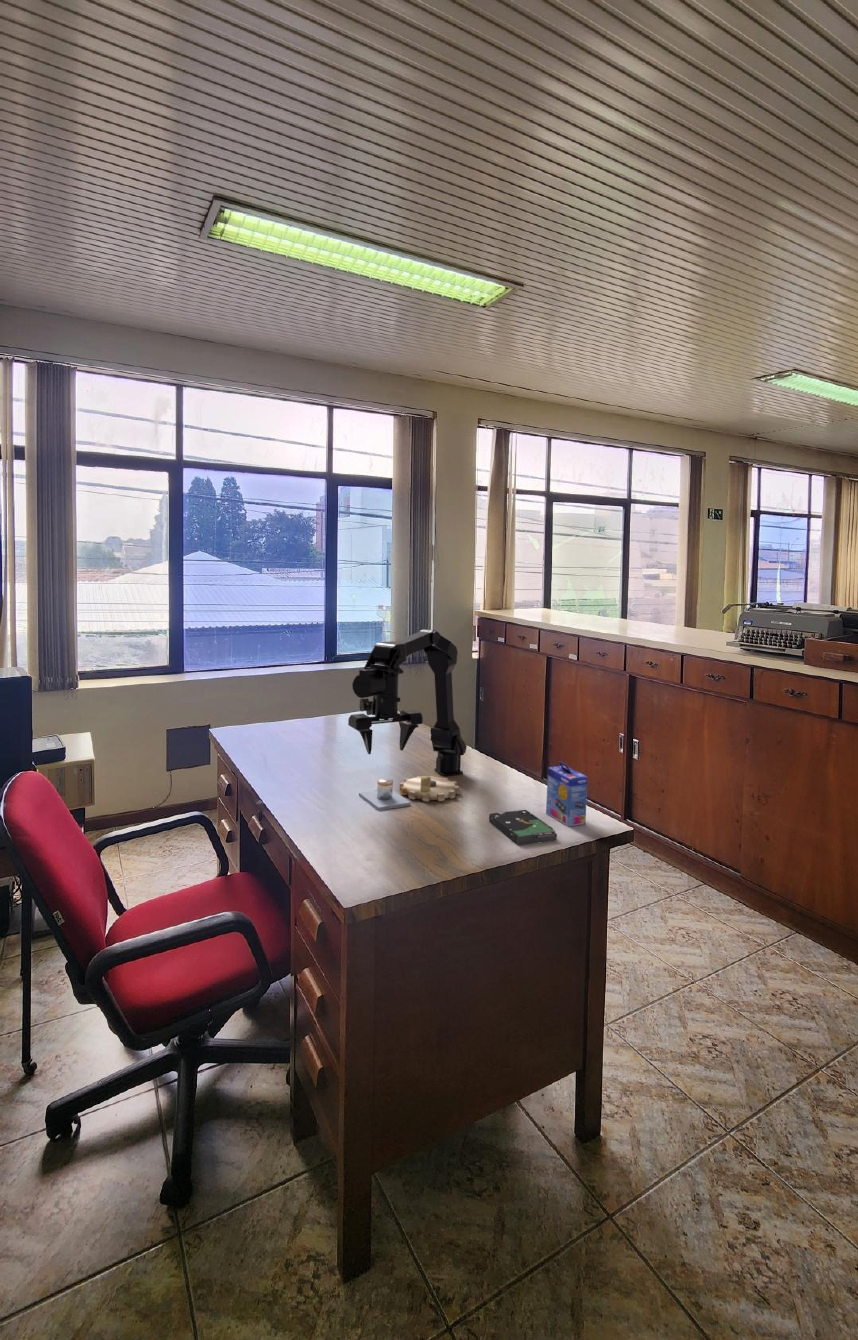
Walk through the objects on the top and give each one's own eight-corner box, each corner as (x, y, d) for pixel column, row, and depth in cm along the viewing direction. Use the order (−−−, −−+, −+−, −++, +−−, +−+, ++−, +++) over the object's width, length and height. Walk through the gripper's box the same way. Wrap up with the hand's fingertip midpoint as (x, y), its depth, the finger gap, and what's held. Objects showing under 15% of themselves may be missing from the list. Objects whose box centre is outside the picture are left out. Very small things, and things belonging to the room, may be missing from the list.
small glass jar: (388, 794, 177) (389, 777, 177) (395, 799, 174) (395, 782, 173) (374, 795, 175) (374, 779, 175) (380, 800, 172) (381, 783, 171)
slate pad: (389, 791, 182) (389, 788, 182) (410, 805, 172) (410, 802, 172) (359, 795, 178) (359, 792, 177) (378, 810, 167) (378, 807, 167)
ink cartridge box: (543, 813, 169) (547, 757, 167) (562, 810, 172) (565, 755, 169) (567, 827, 160) (571, 769, 158) (586, 824, 163) (590, 766, 161)
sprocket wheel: (407, 779, 192) (408, 761, 191) (463, 785, 188) (464, 766, 188) (392, 797, 176) (393, 778, 175) (452, 804, 173) (453, 784, 172)
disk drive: (487, 824, 163) (517, 847, 149) (488, 813, 162) (518, 835, 148) (525, 819, 166) (557, 842, 153) (525, 808, 166) (558, 830, 152)
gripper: (404, 685, 182) (403, 741, 184) (340, 689, 173) (339, 748, 175) (424, 692, 172) (422, 751, 175) (357, 697, 163) (356, 759, 165)
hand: (385, 752), depth 173 cm, fingers open, 9 cm apart
